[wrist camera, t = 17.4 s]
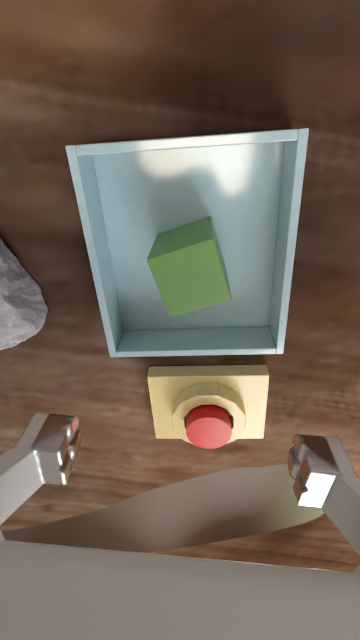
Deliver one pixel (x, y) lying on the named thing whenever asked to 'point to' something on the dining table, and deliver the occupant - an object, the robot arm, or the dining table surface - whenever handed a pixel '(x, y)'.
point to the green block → (189, 267)
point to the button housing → (209, 397)
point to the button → (208, 426)
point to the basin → (183, 208)
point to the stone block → (18, 301)
